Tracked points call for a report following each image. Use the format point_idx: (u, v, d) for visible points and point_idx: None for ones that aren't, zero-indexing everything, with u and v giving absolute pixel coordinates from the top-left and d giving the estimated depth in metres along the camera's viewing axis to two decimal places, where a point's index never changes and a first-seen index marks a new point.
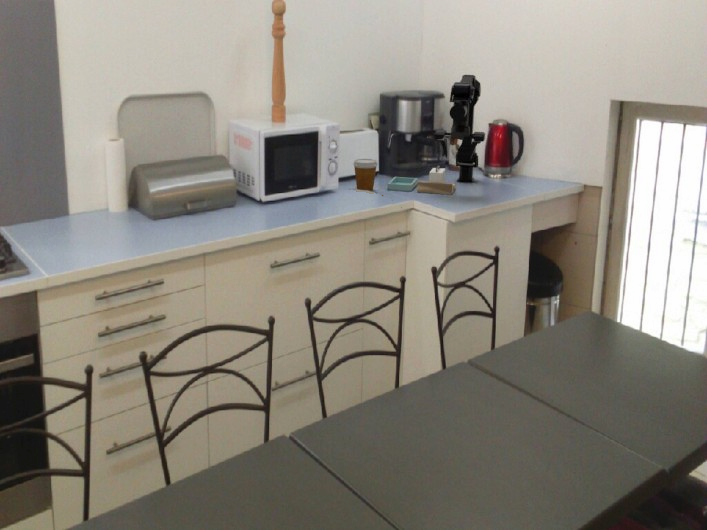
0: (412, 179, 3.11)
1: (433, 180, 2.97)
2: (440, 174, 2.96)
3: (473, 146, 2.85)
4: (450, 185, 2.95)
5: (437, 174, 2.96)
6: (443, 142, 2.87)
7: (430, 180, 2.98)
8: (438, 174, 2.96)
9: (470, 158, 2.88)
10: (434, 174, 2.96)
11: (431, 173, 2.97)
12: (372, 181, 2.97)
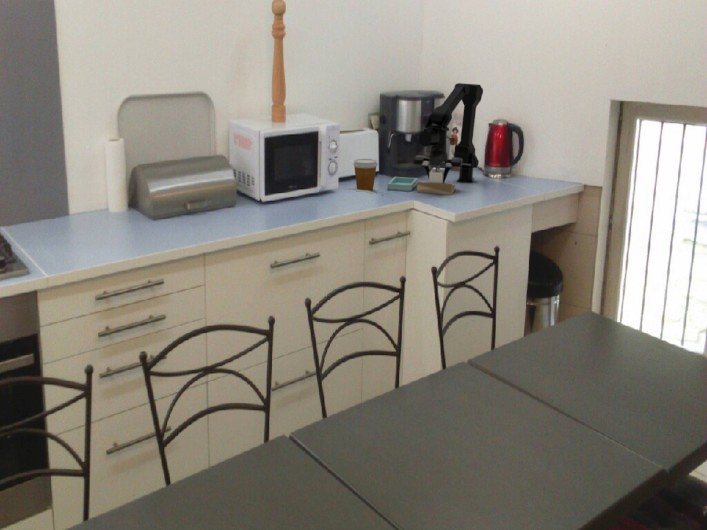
0: (412, 179, 3.11)
1: (433, 180, 2.97)
2: (440, 174, 2.96)
3: (446, 171, 2.98)
4: (450, 185, 2.95)
5: (437, 174, 2.96)
6: (427, 167, 2.99)
7: (430, 180, 2.98)
8: (438, 174, 2.96)
9: (443, 182, 3.00)
10: (434, 174, 2.96)
11: (431, 173, 2.97)
12: (372, 181, 2.97)
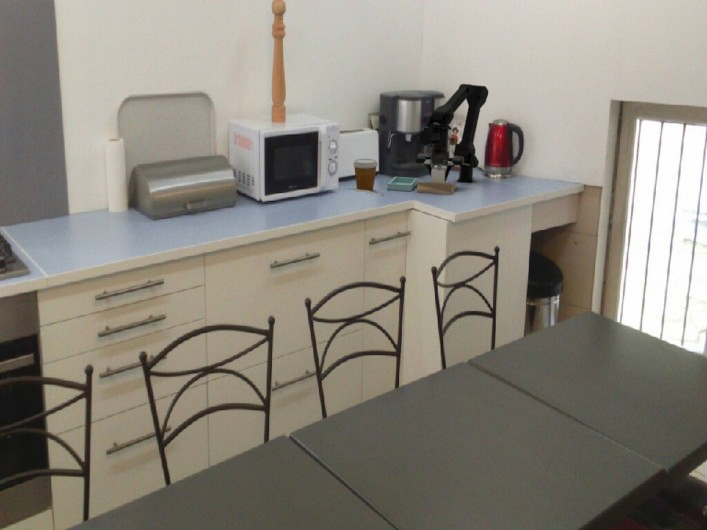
0: (412, 179, 3.11)
1: (435, 178, 3.01)
2: (442, 172, 3.00)
3: (448, 169, 3.02)
4: (450, 185, 2.95)
5: (439, 172, 3.00)
6: (429, 166, 3.02)
7: (432, 178, 3.01)
8: (440, 172, 3.00)
9: (445, 180, 3.04)
10: (436, 172, 3.00)
11: (433, 171, 3.00)
12: (372, 181, 2.97)
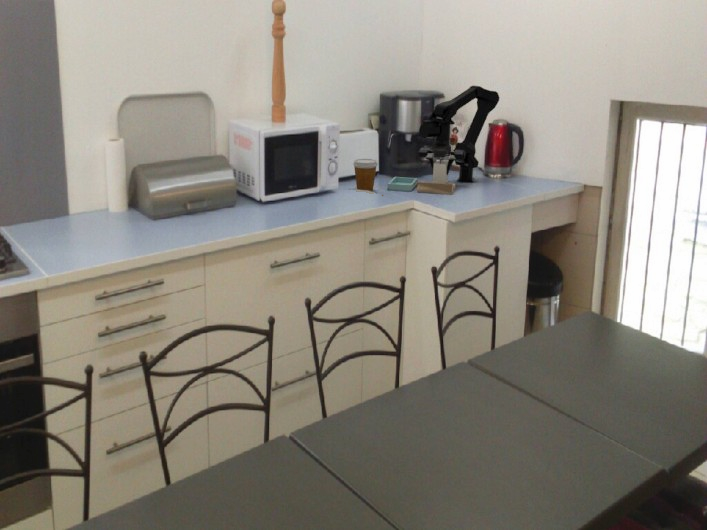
0: (412, 179, 3.11)
1: (437, 171, 3.06)
2: (444, 165, 3.04)
3: (449, 163, 3.07)
4: (450, 185, 2.95)
5: (441, 165, 3.05)
6: (431, 159, 3.07)
7: (434, 171, 3.06)
8: (442, 165, 3.04)
9: (447, 174, 3.09)
10: (438, 165, 3.05)
11: (435, 164, 3.05)
12: (372, 181, 2.97)
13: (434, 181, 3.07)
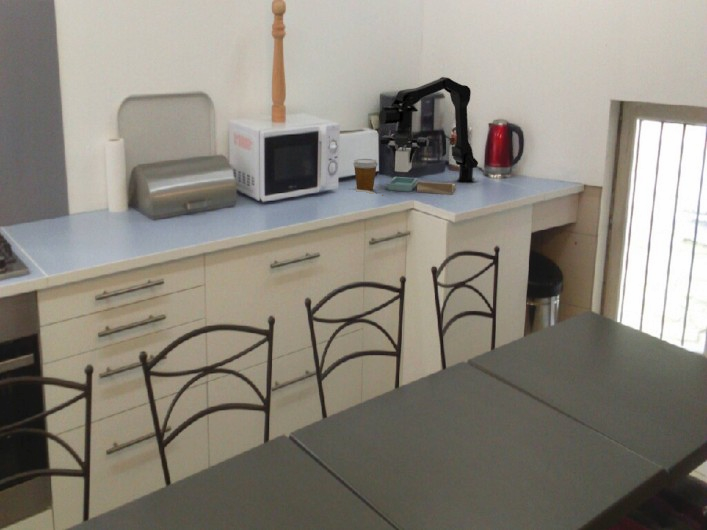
0: (412, 179, 3.11)
1: (399, 159, 2.99)
2: (406, 153, 2.98)
3: (412, 151, 3.00)
4: (450, 185, 2.95)
5: (403, 153, 2.98)
6: (393, 147, 3.01)
7: (396, 159, 2.99)
8: (404, 153, 2.98)
9: (410, 162, 3.02)
10: (400, 153, 2.98)
11: (397, 152, 2.98)
12: (372, 181, 2.97)
13: (396, 169, 3.00)
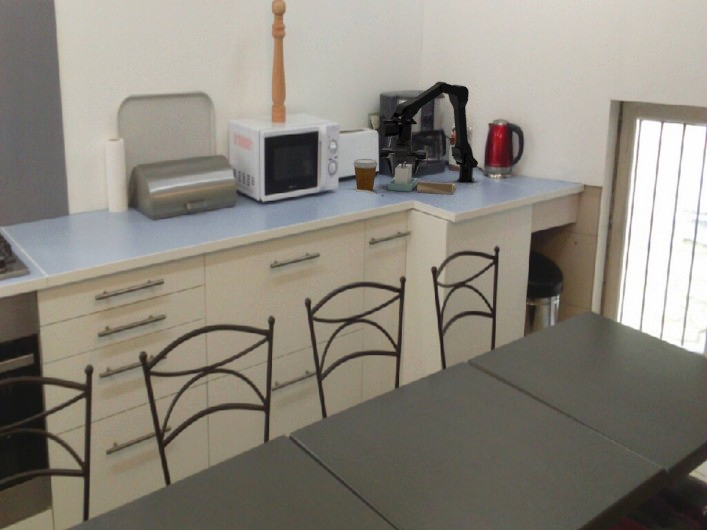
0: (412, 179, 3.11)
1: (399, 176, 3.01)
2: (405, 170, 3.00)
3: (416, 163, 3.01)
4: (450, 185, 2.95)
5: (402, 170, 3.00)
6: (388, 160, 3.03)
7: (396, 176, 3.01)
8: (403, 170, 3.00)
9: (414, 175, 3.04)
10: (400, 170, 3.00)
11: (397, 169, 3.00)
12: (372, 181, 2.97)
13: None
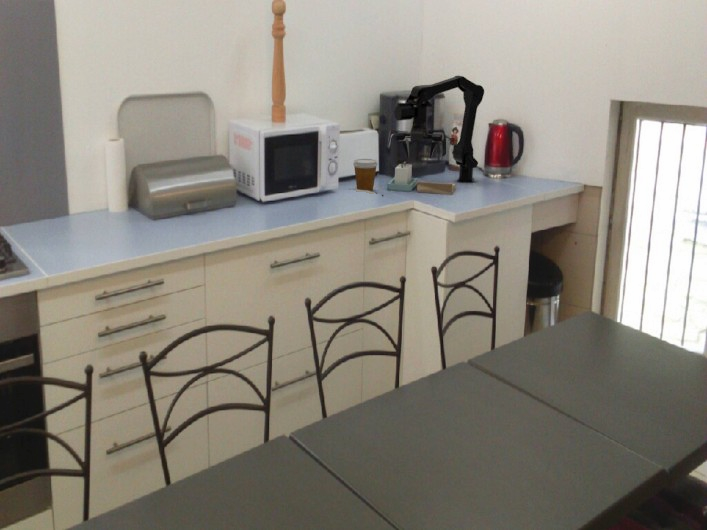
0: (412, 179, 3.11)
1: (399, 176, 3.01)
2: (405, 170, 3.00)
3: (432, 146, 3.02)
4: (450, 185, 2.95)
5: (402, 170, 3.00)
6: (404, 143, 3.04)
7: (396, 176, 3.01)
8: (403, 170, 3.00)
9: (430, 157, 3.05)
10: (400, 170, 3.00)
11: (397, 169, 3.00)
12: (372, 181, 2.97)
13: None
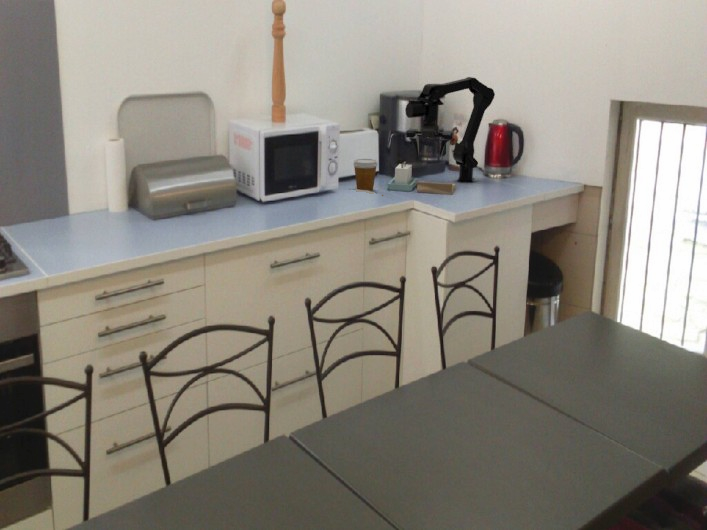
0: (412, 179, 3.11)
1: (399, 176, 3.01)
2: (405, 170, 3.00)
3: (442, 144, 3.04)
4: (450, 185, 2.95)
5: (402, 170, 3.00)
6: (414, 140, 3.06)
7: (396, 176, 3.01)
8: (403, 170, 3.00)
9: (440, 155, 3.07)
10: (400, 170, 3.00)
11: (397, 169, 3.00)
12: (372, 181, 2.97)
13: None
